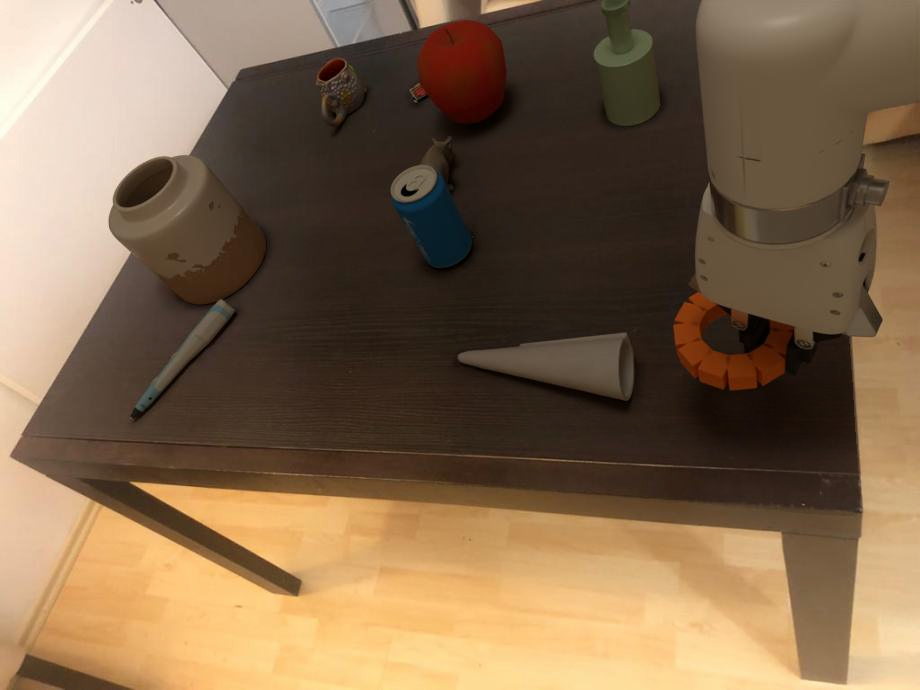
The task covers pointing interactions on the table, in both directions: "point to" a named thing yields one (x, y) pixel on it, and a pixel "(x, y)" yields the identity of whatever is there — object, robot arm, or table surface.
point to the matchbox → (418, 92)
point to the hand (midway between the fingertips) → (777, 351)
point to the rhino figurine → (439, 158)
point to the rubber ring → (722, 367)
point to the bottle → (626, 68)
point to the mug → (339, 90)
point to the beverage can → (431, 216)
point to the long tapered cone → (567, 363)
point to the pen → (186, 352)
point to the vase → (186, 228)
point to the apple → (463, 70)
